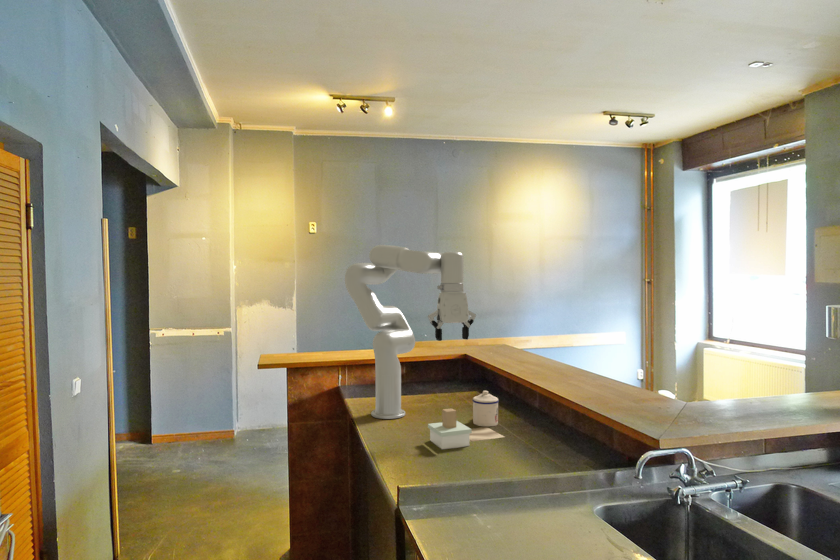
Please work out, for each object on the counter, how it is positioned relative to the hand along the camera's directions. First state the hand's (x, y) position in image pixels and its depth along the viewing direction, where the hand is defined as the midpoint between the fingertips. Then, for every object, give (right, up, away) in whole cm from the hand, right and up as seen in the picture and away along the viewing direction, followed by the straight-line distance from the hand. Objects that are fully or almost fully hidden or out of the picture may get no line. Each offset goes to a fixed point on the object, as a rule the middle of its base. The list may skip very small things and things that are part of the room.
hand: (452, 339), depth 173 cm
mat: (+8, -30, -6) cm, 32 cm away
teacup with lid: (+12, -31, +8) cm, 34 cm away
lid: (-2, -26, -16) cm, 30 cm away
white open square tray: (-2, -30, -16) cm, 34 cm away
